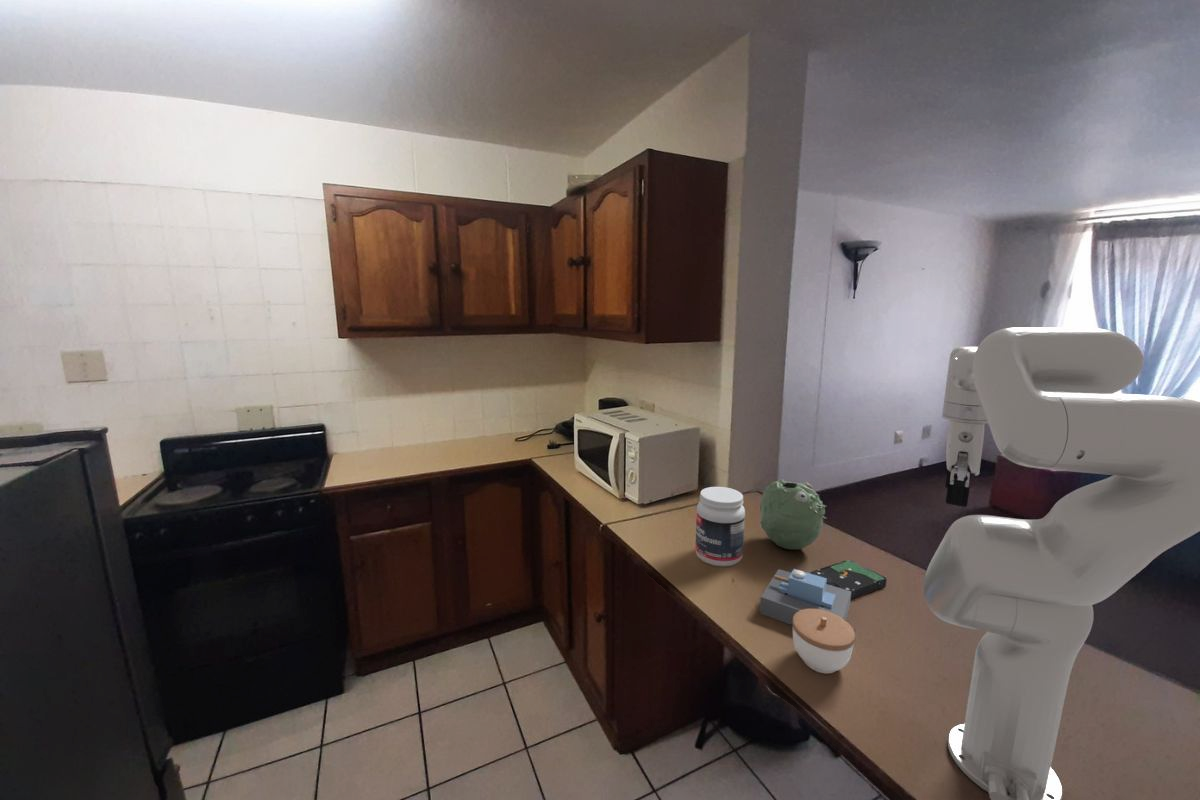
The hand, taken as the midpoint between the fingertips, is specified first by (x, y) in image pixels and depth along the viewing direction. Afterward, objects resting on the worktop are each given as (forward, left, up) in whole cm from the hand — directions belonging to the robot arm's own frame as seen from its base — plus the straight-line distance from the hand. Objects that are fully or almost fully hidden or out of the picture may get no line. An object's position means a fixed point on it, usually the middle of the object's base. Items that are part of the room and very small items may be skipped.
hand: (955, 496), depth 90 cm
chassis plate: (-8, +24, -30) cm, 39 cm away
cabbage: (+20, +35, -31) cm, 51 cm away
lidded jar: (-23, +18, -31) cm, 42 cm away
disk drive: (+10, +18, -31) cm, 37 cm away
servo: (-8, +24, -30) cm, 39 cm away
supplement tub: (+3, +49, -31) cm, 58 cm away
